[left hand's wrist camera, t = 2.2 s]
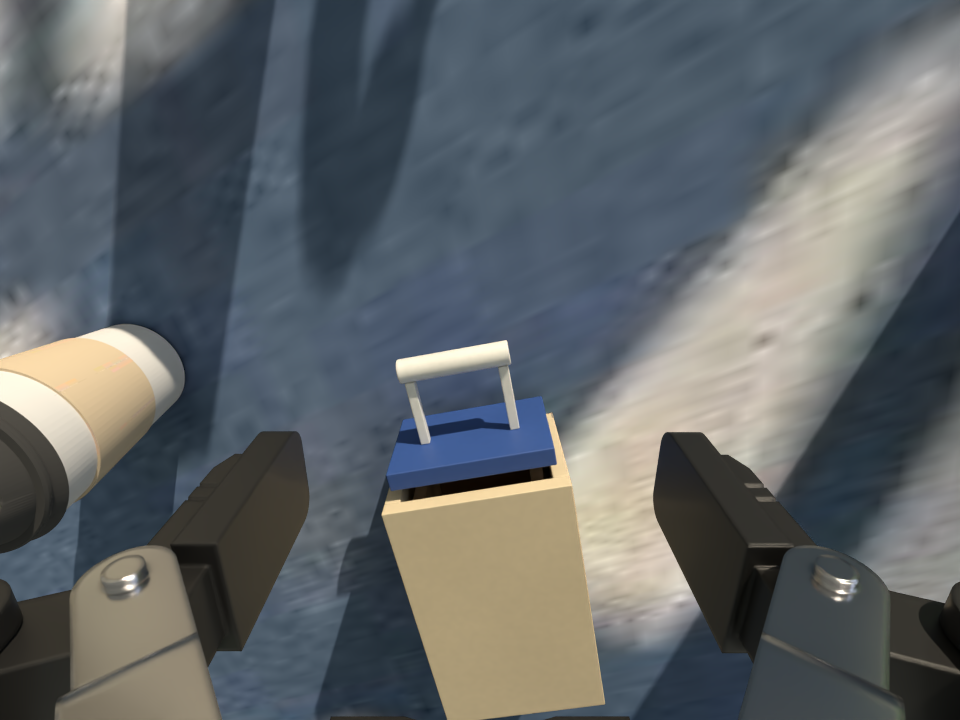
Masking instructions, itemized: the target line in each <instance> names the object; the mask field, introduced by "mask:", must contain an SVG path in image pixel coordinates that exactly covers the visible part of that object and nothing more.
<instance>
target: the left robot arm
mask: <svg viewBox="0 0 960 720" xmlns="http://www.w3.org/2000/svg"><path fill="white" fill-rule="evenodd" d="M653 503H654V510H655V515H656V518H657V521H658V523H659V525H660V527H661V529H662V531H663V533H664V535H665V537H666V539H667V541H668V543H669V546H670V548H671V550H672V552H673V554H674V556H675V558H676V560H677V562H678V564H679V566H680V568H681V570H682V572H683V574H684V576H685V578H686V580H687V582H688V584H689V586H690V588H691V590H692V592H693V594H694V597H695V599H696V601H697V603H698V605H699V607H700V609H701V611H702V613H703V615H704V617H705V619H706V621H707V623H708V625H709V627H710V629H711V631H712V633H713V635H714V637H715V639H716V641H717V643H718V645H719V648H720V650H721V652H722V653H748V655H749V657H750V659H751V660H752V662H753V667H752V671H751V674H750V678H749V681H748V685H747V688H746V692H745V696H744V699H743V703H742V706H741V710H740V713H739V717H738V720H960V582H958V583H956V584H955V585H954V586H953V587H952V589H951V592H950V594H949V596H948V598H947V600H946V603H941V602H936V601H932V600H928V599H923V598H919V597H914V596H910V595H906V594H901V593H897V592H893V591H889V590H888V589H887V587H886V585H885V584H884V582H883V581H882V580H881V579H880V578H879V576H878V575H877V574H875V573H874V572H873V571H872V570H871V569H869V568H868V567H867V566H865V565H864V564H862V563H861V562H859V561H857V560H856V559H854V558H852V557H850V556H848V555H846V554H843V553H841V552H838V551H835V550H832V549H829V548H825V547H820V546H817V545H816V544H815V543H814V542H813V541H812V540H811V538H810V537H809V536H808V535H807V534H806V533H805V532H804V530H803V529H802V528H801V527H800V526H799V525H798V524H797V522H796V521H795V520H794V519H793V518H792V517H791V515H790V514H789V513H788V512H787V511H786V510H785V509H784V507H783V506H782V505H781V504H780V503H779V502H776V501H775V497H774V496H773V495H772V494H771V493H770V491H769V490H768V489H767V488H764V484H763V483H762V482H761V481H760V480H759V479H758V478H757V476H756V475H755V474H754V473H753V472H752V471H751V470H750V469H749V468H748V467H746V466H745V465H743V464H742V463H740V462H738V461H737V460H735V459H734V458H732V457H731V456H729V455H720V453H719V452H718V451H717V450H716V448H715V447H714V446H713V445H712V443H711V442H710V441H709V440H708V439H707V437H706V436H705V435H704V434H703V433H701V432H667V433H665V434H664V435H663V437H662V440H661V446H660V452H659V459H658V465H657V472H656V479H655V485H654V493H653ZM308 507H309V487H308V480H307V473H306V467H305V460H304V453H303V447H302V441H301V437H300V435H299V433H298V432H296V431H263V432H260V433H259V434H258V435H257V436H256V438H255V439H254V440H253V441H252V443H251V444H250V445H249V446H248V448H247V449H246V450H245V451H244V453H243V454H234V455H233V456H231V457H229V458H228V459H226V460H225V461H223V462H222V463H220V464H218V465H217V466H215V467H214V468H213V469H212V470H211V471H210V472H209V474H208V475H207V476H206V477H205V478H204V479H203V480H202V482H201V483H200V487H196V489H195V490H194V491H193V492H192V493H191V494H190V496H189V497H188V500H185V501H184V503H183V504H182V505H181V506H180V507H179V508H178V509H177V511H176V512H175V513H174V514H173V515H172V516H171V518H170V519H169V520H168V521H167V522H166V523H165V525H164V526H163V527H162V528H161V529H160V530H159V531H158V533H157V534H156V535H155V536H154V537H153V538H152V540H151V541H150V542H149V543H148V544H147V545H146V546H140V547H135V548H131V549H128V550H125V551H122V552H119V553H117V554H114V555H112V556H110V557H108V558H106V559H104V560H103V561H101V562H99V563H98V564H96V565H95V566H93V567H92V568H91V569H89V570H88V571H87V572H86V573H85V574H83V575H82V576H81V578H80V579H79V580H78V581H77V582H76V584H75V585H74V587H73V589H72V590H69V591H64V592H60V593H55V594H51V595H46V596H42V597H38V598H33V599H29V600H24V601H20V602H17V601H16V598H15V596H14V594H13V592H12V589H11V587H10V585H9V584H8V583H7V582H6V581H4V580H1V579H0V720H222V717H221V713H220V710H219V706H218V703H217V699H216V696H215V692H214V688H213V685H212V681H211V678H210V674H209V671H208V666H209V664H210V663H211V661H212V659H213V657H214V655H215V653H216V651H242V649H243V647H244V645H245V643H246V641H247V639H248V637H249V635H250V633H251V631H252V629H253V627H254V625H255V623H256V620H257V618H258V616H259V614H260V612H261V610H262V608H263V606H264V604H265V602H266V600H267V598H268V596H269V594H270V592H271V590H272V587H273V585H274V583H275V581H276V579H277V577H278V575H279V573H280V571H281V569H282V567H283V565H284V563H285V561H286V559H287V556H288V554H289V552H290V550H291V548H292V546H293V544H294V542H295V540H296V538H297V536H298V534H299V532H300V530H301V528H302V525H303V523H304V521H305V519H306V516H307V512H308ZM330 720H415V719H411V718H408V717H331V718H330ZM545 720H630V718H629V717H552V718H549V719H545Z"/></svg>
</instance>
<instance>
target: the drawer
mask: <svg viewBox="0 0 960 720" xmlns="http://www.w3.org/2000/svg"><path fill="white" fill-rule="evenodd" d="M510 364H511V360H510V354H509V349H508V343H507V341H506V340H505V341H500V342H494V343H488V344H483V345H477V346H472V347H466V348H461V349H455V350H449V351H444V352H438V353H433V354H427V355H422V356H416V357H410V358H405V359H399V360H397V361H396V372H397V377H398V380H399V382H400V383H402V384H403V383H405V387H406V390H407V394H408V398H409V401H410V405H411V409H412V413H413V416H414V418H410V419H404V420H403V422H402V425H401V428H400V431H399V435H398V438H397V441H396V444H395V448H394V451H393V454H392V457H391V461H390V464H389V467H388V470H387V473H386V478H387V481H388V484H389V487H390V490H391V491H396V490H402V489H409V488H415V487H416V489H415V494H414V498H413V500H418V499H425V498H431V497H437V496H444V495H450V494H456V493H463V492H469V491H475V490H482V489H488V488H494V487H500V486H507V485H513V484H519V483H526V482H532V481H538V480H544V476H543V471H542V467H546V466H552V465H557V460H556V454H555V448H554V444H553V440H552V436H551V432H550V428H549V424H548V420H547V416H546V412H545V408H544V404H543V400H542V397H541V396H539V397H533V398H528V399H522V400H516V401H515V400H514V394H513V389H512V383H511V378H510V373H509V367H508V365H510ZM494 367H498V369H499V374H500V379H501V384H502V390H503V395H504V400H505V402H504V403H498V404H492V405H487V406H481V407H475V408H469V409H463V410H457V411H451V412H445V413H440V414H434V415H428V416H425V415H424V411H423V407H422V403H421V399H420V396H419V392H418V388H417V384H416V381H420V380H426V379H431V378H437V377H443V376H448V375H454V374H460V373H465V372H471V371H477V370H482V369H488V368H494Z"/></svg>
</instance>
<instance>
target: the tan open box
mask: <svg viewBox="0 0 960 720" xmlns="http://www.w3.org/2000/svg"><path fill="white" fill-rule="evenodd" d="M546 416H547V420H548V424H549V428H550V432H551V436H552V440H553V444H554V448H555V454H556V460H557V465H552V466H546V467H542V471H543V476H544V480H538V481H532V482H526V483H519V484H513V485H507V486H500V487H494V488H488V489H482V490H475V491H469V492H463V493H456V494H450V495H444V496H437V497H431V498H425V499H418V500H413V498H414V494H415V489H416V487H415V488H409V489H402V490H396V491H391V490H390V487H389V491H388V494H387V498H386V501H385V505H384V508H383V512H382V518H383V521H384V524H385V528H386V531H387V534H388V537H389V540H390V543H391V546H392V549H393V552H394V556H395V559H396V562H397V565H398V568H399V571H400V574H401V577H402V580H403V583H404V587H405V590H406V593H407V596H408V599H409V602H410V605H411V608H412V611H413V615H414V618H415V621H416V624H417V627H418V630H419V633H420V636H421V639H422V643H423V646H424V649H425V652H426V655H427V658H428V661H429V664H430V667H431V671H432V674H433V677H434V680H435V683H436V686H437V689H438V692H439V695H440V699H441V702H442V705H443V708H444V711H445V714H446V717H447V720H482V719H491V718H499V717H507V716H515V715H523V714H531V713H539V712H547V711H555V710H563V709H571V708H579V707H587V706H596V705H604V704H605V701H604V694H603V687H602V681H601V674H600V667H599V661H598V654H597V647H596V641H595V634H594V628H593V621H592V614H591V608H590V601H589V594H588V588H587V581H586V574H585V568H584V561H583V555H582V548H581V541H580V535H579V528H578V521H577V515H576V508H575V502H574V495H573V488H572V483H571V480H570V476H569V473H568V469H567V465H566V462H565V458H564V454H563V451H562V447H561V443H560V440H559V436H558V432H557V429H556V425H555V421H554V417H553V413H549V414H546Z"/></svg>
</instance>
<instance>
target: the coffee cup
mask: <svg viewBox="0 0 960 720" xmlns="http://www.w3.org/2000/svg"><path fill="white" fill-rule="evenodd" d="M184 383H185V373H184V368H183V365H182V362H181V359H180V357H179V356H178V354H177V352H176V351H175V349H174V348H173V347H172V346H171V345H170V344H169V343H168V342H167V341H166V340H165V339H164V338H163V337H161V336H160V335H158V334H157V333H155V332H154V331H152V330H150V329H147V328H145V327H142V326H138V325H132V324H119V325H114V326H110V327H107V328H104V329H101V330H98V331H95V332H92V333H89V334H86V335H83V336H80V337H77V338H70V339H64V340H61V341H57V342H54V343H51V344H48V345H45V346H41V347H38V348H35V349H32V350H29V351H25V352H22V353H19V354H16V355H13V356H9V357H6V358H3V359H0V553H5V552H9V551H12V550H15V549H17V548H19V547H22V546H23V545H25V544H27V543H28V542H30V541H31V540H34V539H37V538H39V537H41V536H43V535H45V534H47V533H48V532H50V531H51V530H52V529H53V528H54V527H55V526H56V525H57V524H58V523H59V522H60V521H61V519H62V517H63V516H64V514H65V512H66V510H67V509H68V508H69V507H70V506H71V505H72V504H73V503H74V502H76V501H78V500H80V499H81V498H83V497H84V496H85V495H86V494H87V493H88V492H89V491H90V490H91V489H92V488H93V487H94V486H95V485H96V484H97V483H98V482H99V481H100V480H101V479H102V478H103V477H104V476H105V475H106V474H107V473H108V472H109V471H110V470H111V469H112V468H113V467H114V466H115V465H116V464H117V462H118V461H119V460H120V459H121V458H122V457H123V456H124V455H125V454H126V453H127V452H128V451H129V450H130V449H131V448H132V447H133V446H134V445H135V444H136V443H137V442H138V441H139V440H140V439H141V438H142V437H143V436H144V435H145V434H146V433H147V431H148V430H149V428H150V427H151V425H152V424H153V423H155V422H156V421H157V420H158V419H159V418H160V417H161V416H162V415H163V414H164V413H165V412H166V411H167V410H168V409H169V408H170V407H171V406H172V405H173V404H174V403H175V402H176V401H177V400H178V398H179V397H180V395H181V393H182V391H183V388H184Z"/></svg>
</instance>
